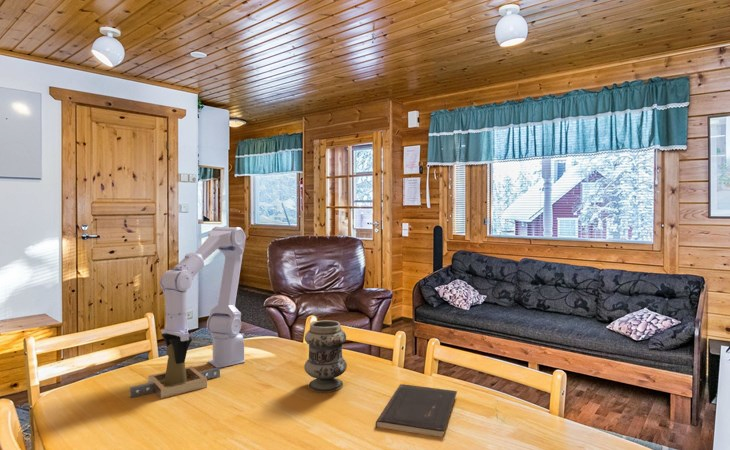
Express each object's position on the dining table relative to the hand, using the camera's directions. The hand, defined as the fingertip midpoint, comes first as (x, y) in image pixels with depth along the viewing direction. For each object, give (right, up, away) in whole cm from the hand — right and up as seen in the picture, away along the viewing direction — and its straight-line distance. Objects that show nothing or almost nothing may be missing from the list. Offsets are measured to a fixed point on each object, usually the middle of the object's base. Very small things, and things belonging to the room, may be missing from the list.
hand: (177, 360), depth 133 cm
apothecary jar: (+42, -8, +1) cm, 43 cm away
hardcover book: (+67, -9, -15) cm, 69 cm away
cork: (0, -7, 0) cm, 7 cm away
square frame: (0, -7, 0) cm, 7 cm away
